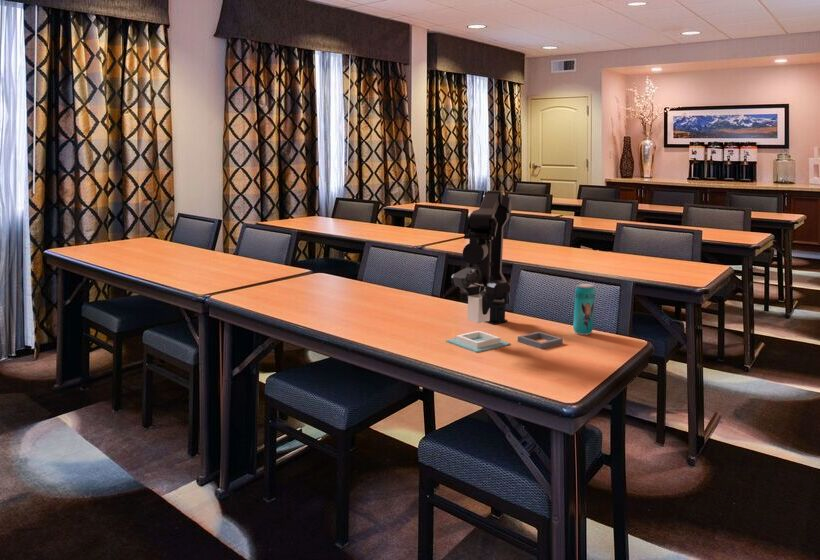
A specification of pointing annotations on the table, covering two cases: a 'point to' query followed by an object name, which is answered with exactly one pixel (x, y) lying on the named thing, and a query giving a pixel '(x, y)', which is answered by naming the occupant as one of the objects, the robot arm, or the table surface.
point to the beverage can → (584, 308)
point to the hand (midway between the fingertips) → (478, 312)
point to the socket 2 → (551, 342)
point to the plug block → (477, 309)
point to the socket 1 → (478, 341)
